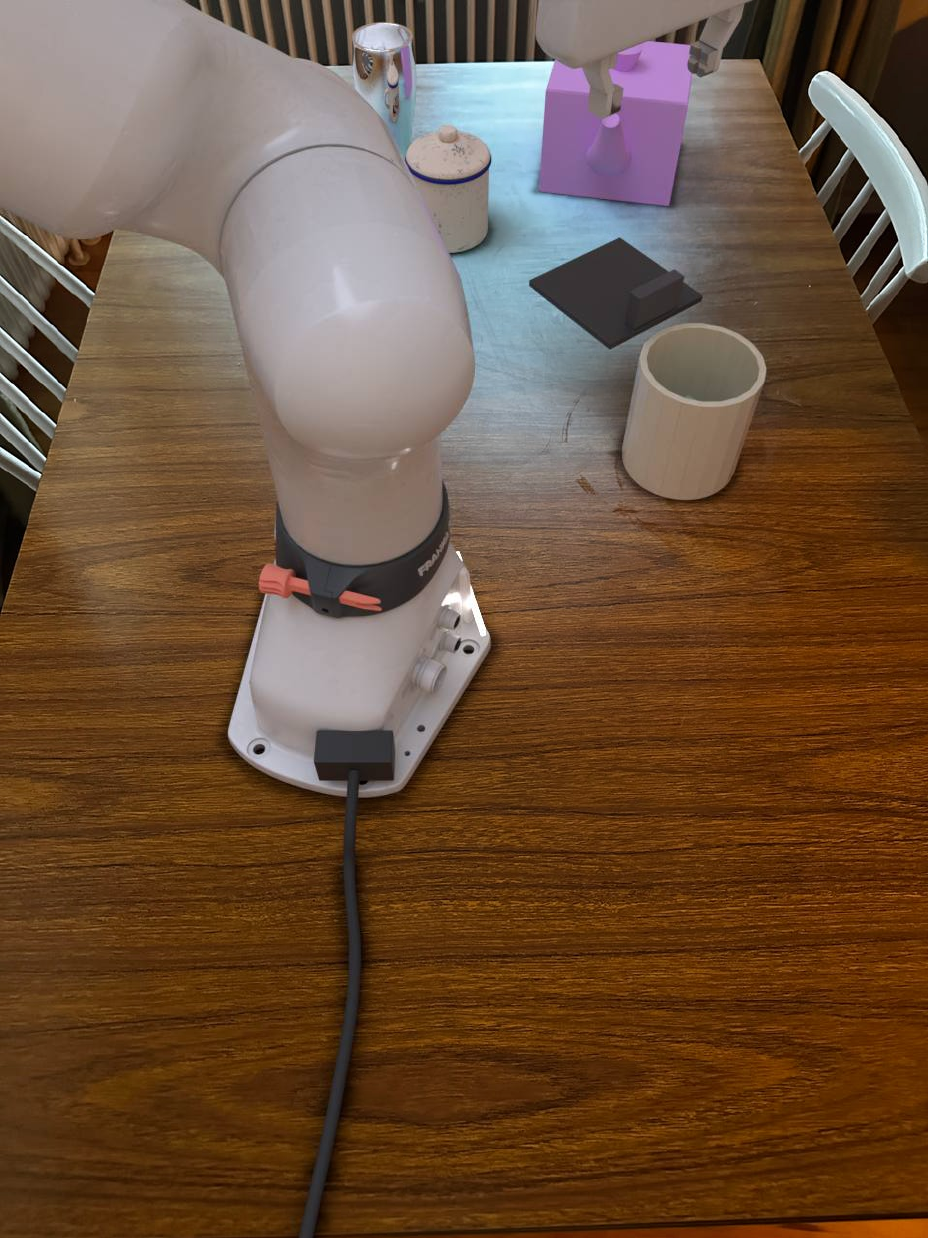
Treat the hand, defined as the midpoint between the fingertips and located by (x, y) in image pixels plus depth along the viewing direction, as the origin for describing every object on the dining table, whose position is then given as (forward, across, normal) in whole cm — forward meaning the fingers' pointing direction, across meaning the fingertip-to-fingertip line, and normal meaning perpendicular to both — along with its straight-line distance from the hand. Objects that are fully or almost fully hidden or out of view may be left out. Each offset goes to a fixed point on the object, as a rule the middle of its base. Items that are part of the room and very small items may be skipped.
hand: (653, 91), depth 67 cm
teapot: (+29, +27, +29) cm, 49 cm away
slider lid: (+18, +1, +1) cm, 18 cm away
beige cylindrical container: (+29, +1, -9) cm, 31 cm away
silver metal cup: (+29, +6, +46) cm, 55 cm away
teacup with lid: (+29, +4, +32) cm, 44 cm away
